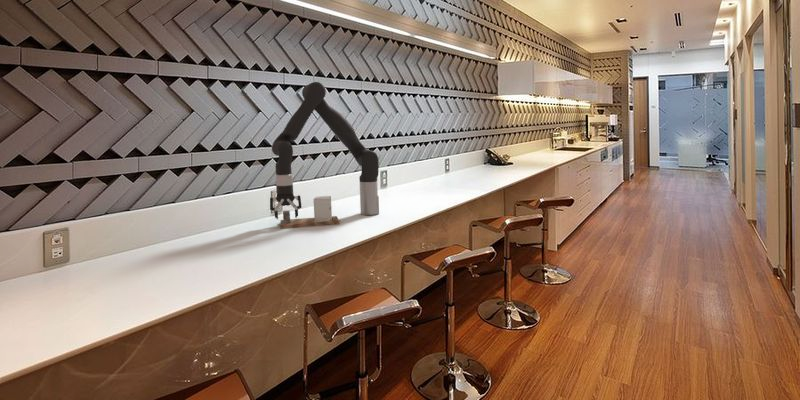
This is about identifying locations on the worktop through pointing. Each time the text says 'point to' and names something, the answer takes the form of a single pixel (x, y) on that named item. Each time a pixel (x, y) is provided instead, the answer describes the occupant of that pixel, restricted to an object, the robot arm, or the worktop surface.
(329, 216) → the supplement box
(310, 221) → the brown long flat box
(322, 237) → the worktop surface
